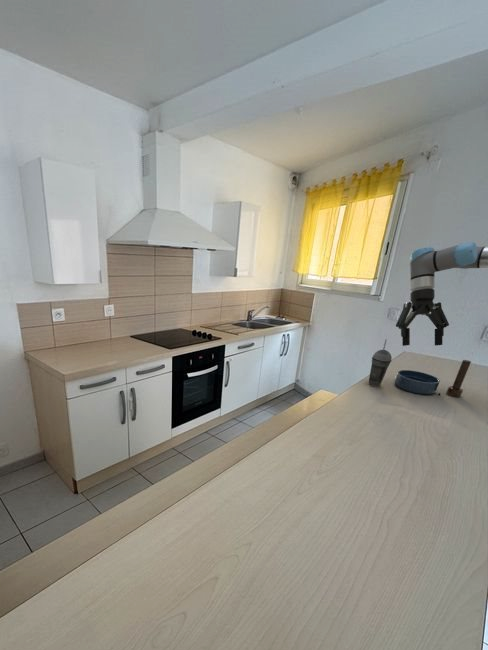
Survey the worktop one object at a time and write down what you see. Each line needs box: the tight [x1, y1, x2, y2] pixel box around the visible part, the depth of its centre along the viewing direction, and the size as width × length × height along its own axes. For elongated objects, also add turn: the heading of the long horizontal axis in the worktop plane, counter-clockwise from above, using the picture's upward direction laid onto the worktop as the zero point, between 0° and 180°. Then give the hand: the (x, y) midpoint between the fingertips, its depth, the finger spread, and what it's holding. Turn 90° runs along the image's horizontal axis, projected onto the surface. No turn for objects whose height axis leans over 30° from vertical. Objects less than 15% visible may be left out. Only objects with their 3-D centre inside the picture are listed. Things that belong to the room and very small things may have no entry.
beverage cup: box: [368, 338, 392, 387], centre depth 137 cm, size 7×7×20 cm
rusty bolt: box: [445, 359, 472, 398], centre depth 131 cm, size 5×5×15 cm
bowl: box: [393, 369, 441, 395], centre depth 138 cm, size 15×15×6 cm
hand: (422, 345), depth 125 cm, fingers open, 13 cm apart
